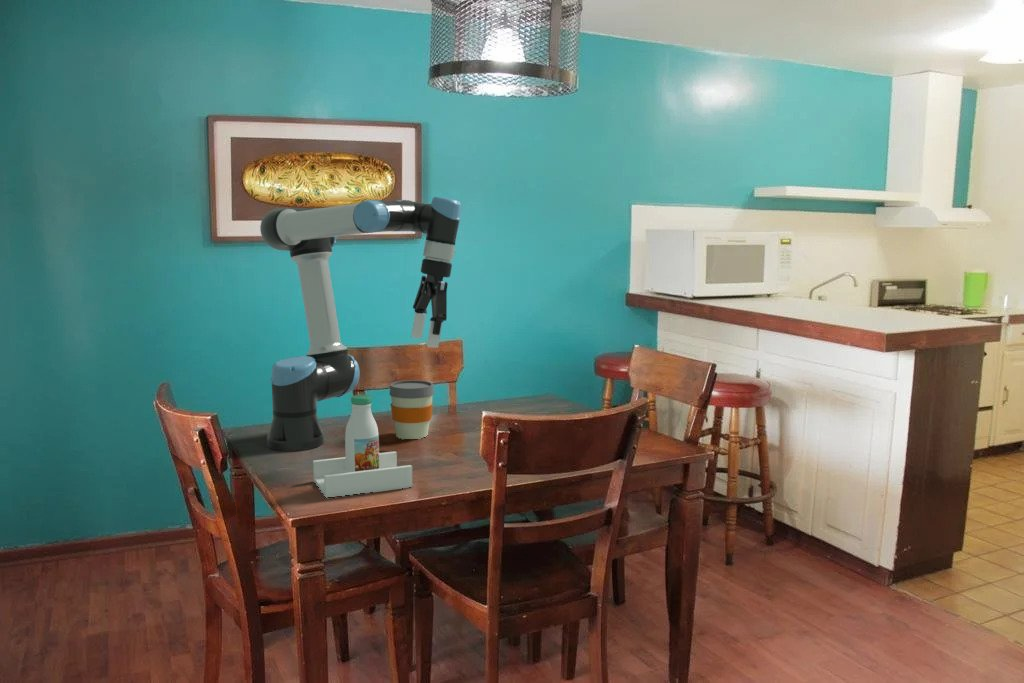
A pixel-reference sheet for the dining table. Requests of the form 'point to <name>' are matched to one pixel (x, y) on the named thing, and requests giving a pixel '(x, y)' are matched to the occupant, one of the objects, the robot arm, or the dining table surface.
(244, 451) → the dining table surface
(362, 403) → the milk bottle
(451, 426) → the dining table surface
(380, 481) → the duct channel
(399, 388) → the reusable coffee cup
